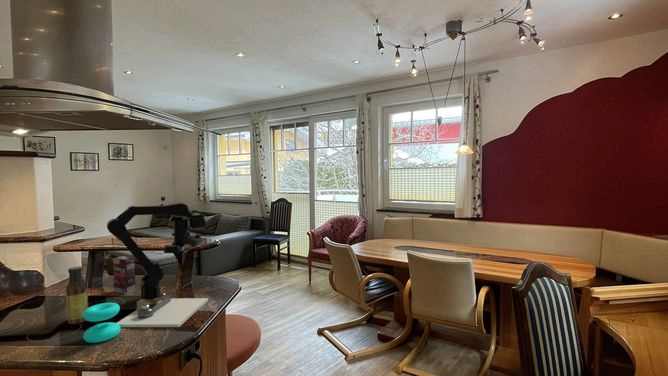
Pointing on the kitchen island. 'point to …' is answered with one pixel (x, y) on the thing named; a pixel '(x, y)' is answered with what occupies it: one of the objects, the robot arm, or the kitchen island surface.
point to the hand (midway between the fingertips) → (181, 264)
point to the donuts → (103, 329)
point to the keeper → (147, 302)
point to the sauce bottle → (76, 296)
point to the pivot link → (153, 307)
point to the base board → (166, 314)
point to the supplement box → (124, 274)
